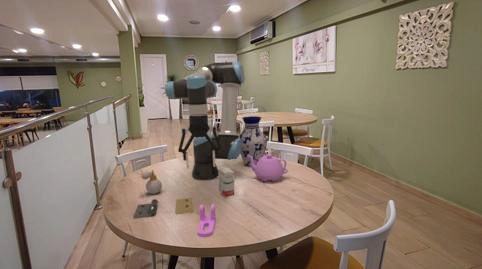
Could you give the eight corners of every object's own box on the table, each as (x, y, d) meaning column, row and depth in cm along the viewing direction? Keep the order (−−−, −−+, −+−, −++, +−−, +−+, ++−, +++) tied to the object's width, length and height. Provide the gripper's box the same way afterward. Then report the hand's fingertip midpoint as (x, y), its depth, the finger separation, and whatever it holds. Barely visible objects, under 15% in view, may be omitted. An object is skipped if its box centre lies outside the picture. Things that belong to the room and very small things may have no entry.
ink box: (234, 195, 131) (234, 171, 129) (225, 197, 129) (224, 172, 127) (227, 188, 139) (226, 166, 137) (218, 190, 137) (217, 167, 134)
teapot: (245, 183, 145) (245, 158, 142) (248, 173, 160) (248, 150, 158) (288, 184, 142) (288, 158, 140) (287, 174, 158) (287, 150, 155)
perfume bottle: (164, 189, 140) (162, 167, 137) (157, 197, 130) (154, 173, 128) (150, 189, 140) (148, 166, 138) (141, 197, 131) (139, 173, 129)
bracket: (201, 219, 110) (200, 202, 108) (215, 218, 110) (215, 202, 108) (196, 237, 97) (195, 219, 96) (212, 237, 97) (211, 219, 96)
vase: (241, 170, 167) (239, 120, 161) (235, 161, 185) (233, 116, 179) (271, 167, 171) (271, 118, 165) (262, 158, 189) (262, 115, 183)
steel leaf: (158, 205, 122) (157, 199, 122) (155, 216, 113) (154, 209, 112) (138, 207, 121) (137, 200, 120) (133, 218, 111) (132, 211, 111)
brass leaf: (192, 203, 125) (192, 197, 124) (193, 213, 115) (193, 207, 115) (176, 204, 124) (176, 199, 123) (176, 215, 114) (175, 209, 113)
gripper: (225, 112, 118) (227, 162, 122) (170, 114, 115) (173, 166, 119) (227, 114, 111) (229, 167, 115) (168, 117, 107) (172, 171, 112)
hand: (201, 166), depth 117 cm, fingers open, 10 cm apart
